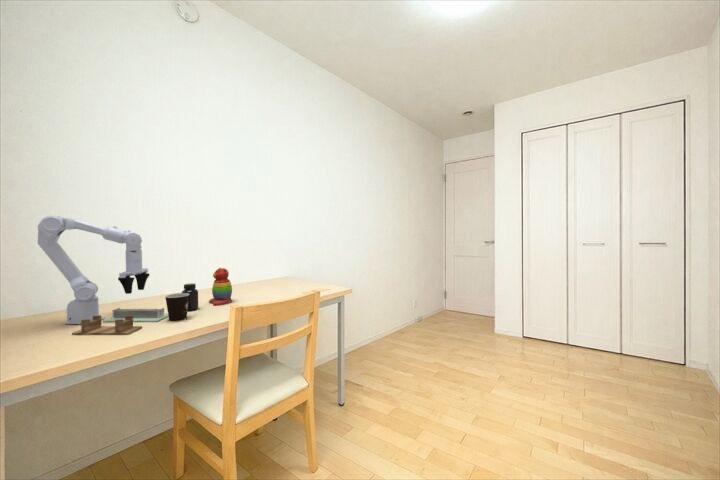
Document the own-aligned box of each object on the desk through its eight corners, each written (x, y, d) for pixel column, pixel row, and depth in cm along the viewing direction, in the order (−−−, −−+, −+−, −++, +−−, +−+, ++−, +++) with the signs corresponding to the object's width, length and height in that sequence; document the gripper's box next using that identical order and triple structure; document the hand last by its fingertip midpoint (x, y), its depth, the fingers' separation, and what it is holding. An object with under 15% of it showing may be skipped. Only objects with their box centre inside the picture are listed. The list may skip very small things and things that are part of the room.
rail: (112, 318, 126) (112, 310, 126) (118, 315, 130) (118, 308, 130) (159, 318, 127) (158, 310, 127) (164, 315, 130) (164, 308, 130)
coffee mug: (178, 322, 123) (178, 298, 123) (160, 321, 125) (160, 297, 124) (199, 314, 134) (198, 292, 134) (182, 313, 136) (182, 291, 136)
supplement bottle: (201, 308, 143) (200, 283, 143) (186, 312, 138) (186, 286, 137) (193, 306, 147) (193, 282, 147) (178, 310, 141) (178, 284, 141)
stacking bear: (207, 302, 156) (207, 267, 155) (228, 299, 163) (227, 266, 162) (214, 306, 148) (214, 270, 147) (235, 302, 155) (235, 268, 154)
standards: (71, 334, 109) (71, 320, 108) (89, 328, 116) (88, 314, 115) (128, 334, 109) (127, 320, 109) (142, 328, 116) (141, 314, 116)
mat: (102, 322, 123) (102, 320, 123) (121, 315, 133) (121, 313, 133) (157, 322, 123) (157, 320, 123) (172, 315, 133) (172, 313, 133)
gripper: (131, 262, 125) (131, 295, 126) (154, 258, 139) (155, 288, 140) (113, 262, 125) (114, 295, 125) (138, 258, 139) (139, 288, 140)
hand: (134, 291), depth 133 cm, fingers open, 7 cm apart
